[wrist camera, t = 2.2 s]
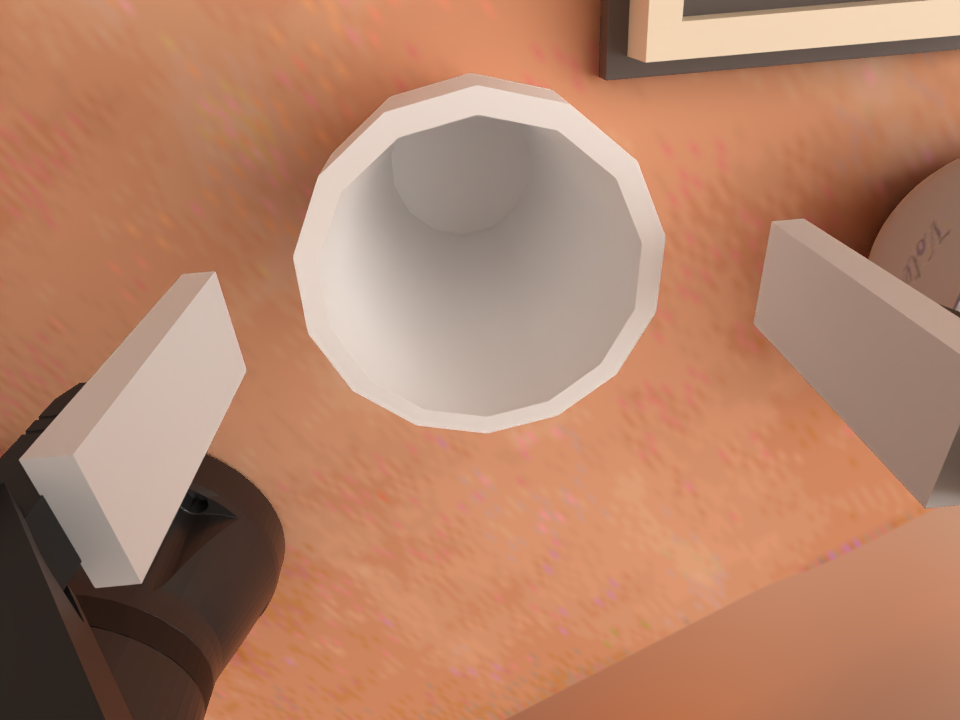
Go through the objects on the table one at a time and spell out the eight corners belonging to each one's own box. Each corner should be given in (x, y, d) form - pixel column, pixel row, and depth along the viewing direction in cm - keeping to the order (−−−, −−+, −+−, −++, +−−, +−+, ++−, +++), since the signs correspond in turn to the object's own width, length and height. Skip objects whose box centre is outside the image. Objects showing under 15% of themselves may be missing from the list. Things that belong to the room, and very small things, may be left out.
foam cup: (397, -2, 24) (370, 7, 13) (606, 101, 26) (736, 185, 15) (324, 221, 28) (255, 376, 17) (509, 292, 30) (556, 468, 19)
